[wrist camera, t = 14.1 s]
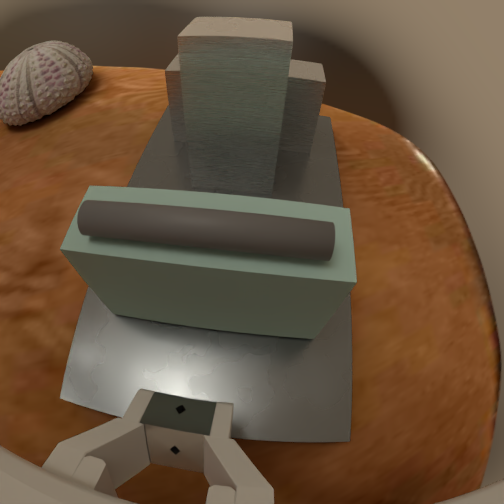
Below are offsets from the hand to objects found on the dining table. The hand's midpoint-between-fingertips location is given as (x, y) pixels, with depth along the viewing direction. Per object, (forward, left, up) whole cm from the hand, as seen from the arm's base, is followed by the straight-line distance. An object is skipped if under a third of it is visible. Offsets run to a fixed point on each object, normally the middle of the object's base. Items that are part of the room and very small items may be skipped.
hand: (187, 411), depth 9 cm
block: (-11, +11, -4) cm, 15 cm away
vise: (-8, +8, -6) cm, 13 cm away
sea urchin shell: (-38, +3, -6) cm, 39 cm away
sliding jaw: (-4, +4, -4) cm, 7 cm away
